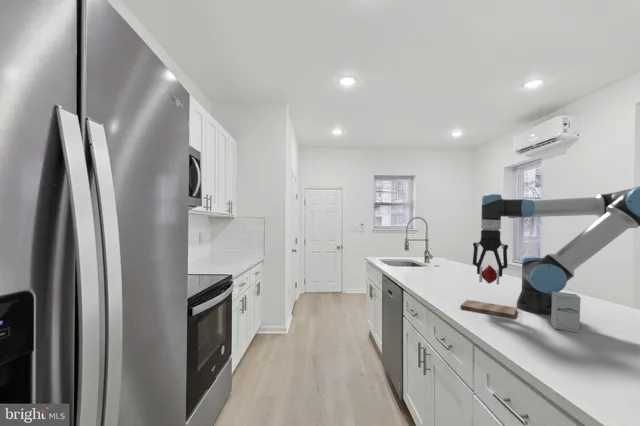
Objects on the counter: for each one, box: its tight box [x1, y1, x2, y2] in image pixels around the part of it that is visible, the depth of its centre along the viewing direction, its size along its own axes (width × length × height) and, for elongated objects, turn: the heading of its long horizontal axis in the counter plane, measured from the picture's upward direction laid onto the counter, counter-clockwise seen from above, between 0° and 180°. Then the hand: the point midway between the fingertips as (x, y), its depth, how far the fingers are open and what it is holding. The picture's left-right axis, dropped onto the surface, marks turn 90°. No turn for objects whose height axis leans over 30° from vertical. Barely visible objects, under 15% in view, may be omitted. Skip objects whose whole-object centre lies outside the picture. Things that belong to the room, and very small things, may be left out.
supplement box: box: [550, 291, 581, 334], centre depth 117 cm, size 7×7×13 cm
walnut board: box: [459, 299, 518, 319], centre depth 138 cm, size 20×14×2 cm
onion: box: [482, 264, 497, 284], centre depth 139 cm, size 6×6×8 cm
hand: (489, 282), depth 139 cm, fingers closed on onion, 6 cm apart
